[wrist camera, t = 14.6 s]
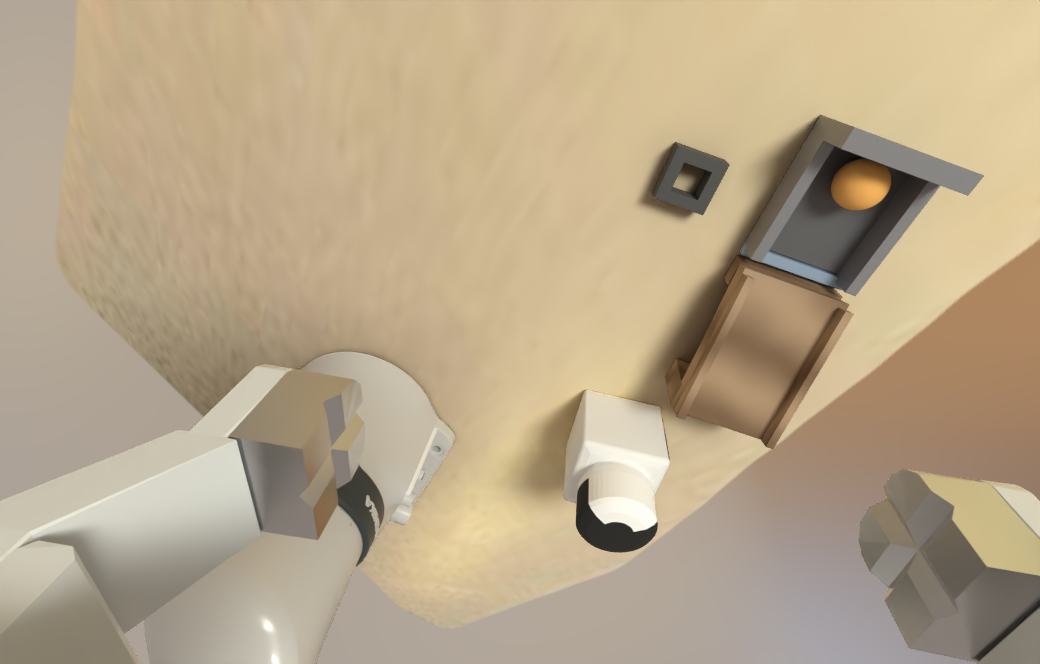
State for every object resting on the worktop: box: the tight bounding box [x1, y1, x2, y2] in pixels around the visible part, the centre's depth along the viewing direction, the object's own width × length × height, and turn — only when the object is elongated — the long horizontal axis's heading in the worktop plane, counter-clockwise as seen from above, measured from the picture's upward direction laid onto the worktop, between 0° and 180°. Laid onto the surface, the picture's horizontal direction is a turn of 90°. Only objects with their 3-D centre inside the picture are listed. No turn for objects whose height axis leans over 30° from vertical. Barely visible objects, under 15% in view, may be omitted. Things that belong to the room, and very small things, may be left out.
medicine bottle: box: [563, 390, 670, 552], centre depth 42 cm, size 7×7×12 cm
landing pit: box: [739, 115, 984, 296], centre depth 33 cm, size 10×8×5 cm
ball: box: [831, 158, 891, 210], centre depth 32 cm, size 3×3×3 cm
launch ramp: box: [665, 255, 854, 449], centre depth 38 cm, size 12×8×6 cm, turn 162°
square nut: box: [653, 142, 729, 215], centre depth 35 cm, size 4×4×2 cm
